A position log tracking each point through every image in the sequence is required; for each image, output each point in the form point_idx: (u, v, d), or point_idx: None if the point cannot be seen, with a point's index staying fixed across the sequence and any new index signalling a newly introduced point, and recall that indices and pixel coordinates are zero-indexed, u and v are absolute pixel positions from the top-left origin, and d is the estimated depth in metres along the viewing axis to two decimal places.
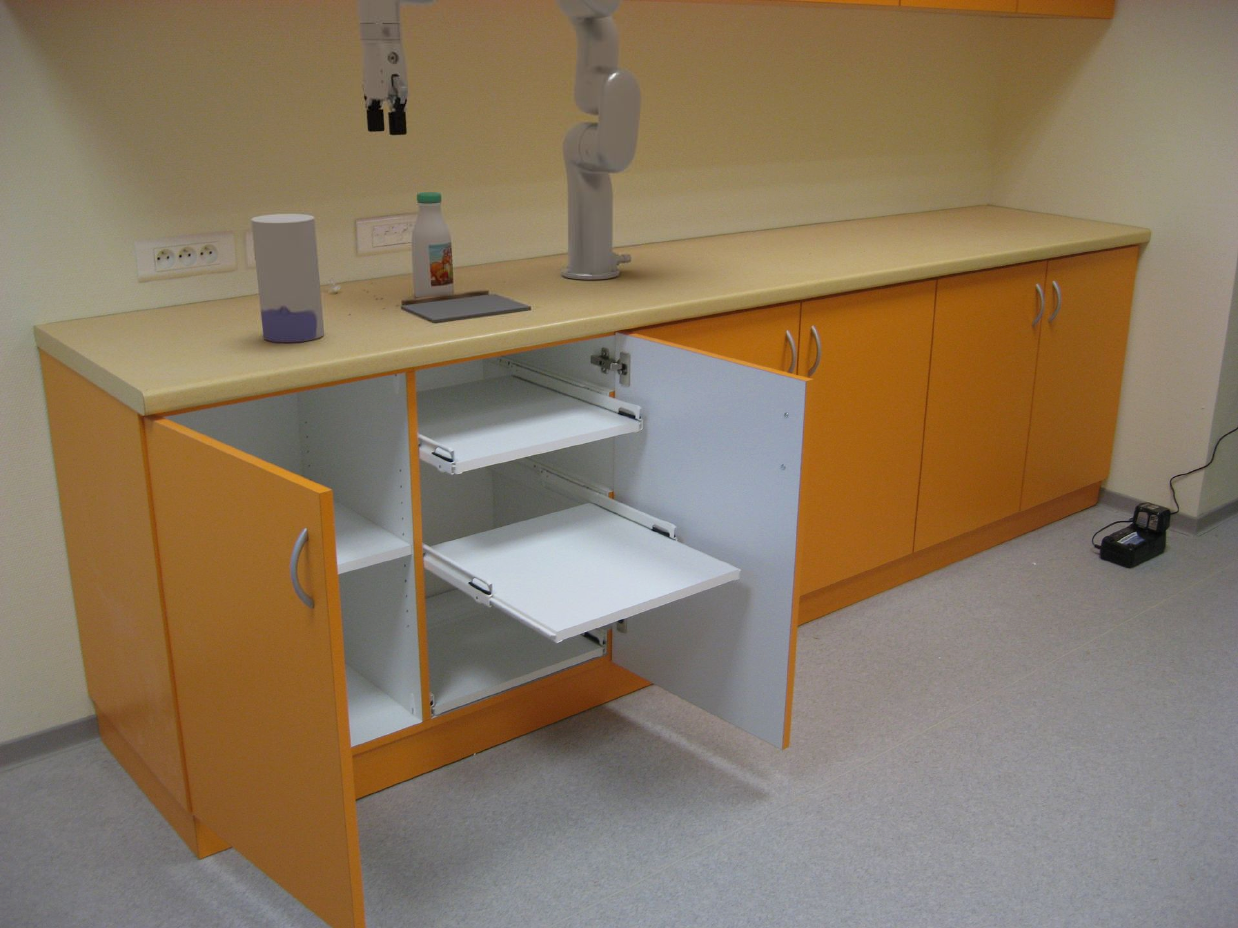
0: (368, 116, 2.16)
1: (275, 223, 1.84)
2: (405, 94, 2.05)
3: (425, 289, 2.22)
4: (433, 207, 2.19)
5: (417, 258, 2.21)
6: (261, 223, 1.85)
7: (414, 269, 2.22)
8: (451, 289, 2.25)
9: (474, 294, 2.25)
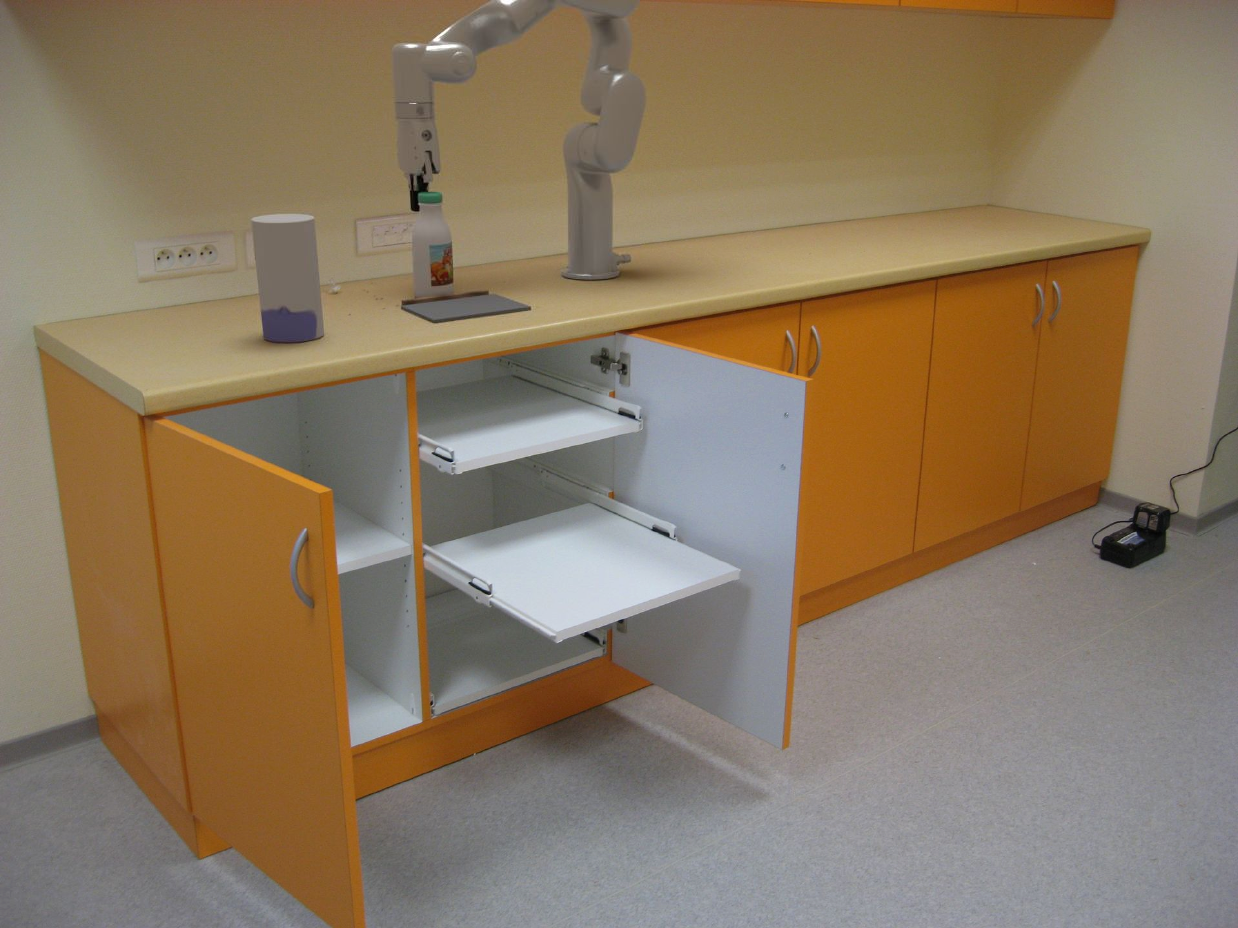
0: (411, 196, 2.22)
1: (275, 223, 1.84)
2: (429, 182, 2.19)
3: (425, 289, 2.22)
4: (434, 207, 2.18)
5: (417, 257, 2.20)
6: (261, 223, 1.85)
7: (414, 269, 2.22)
8: (451, 289, 2.25)
9: (474, 294, 2.25)
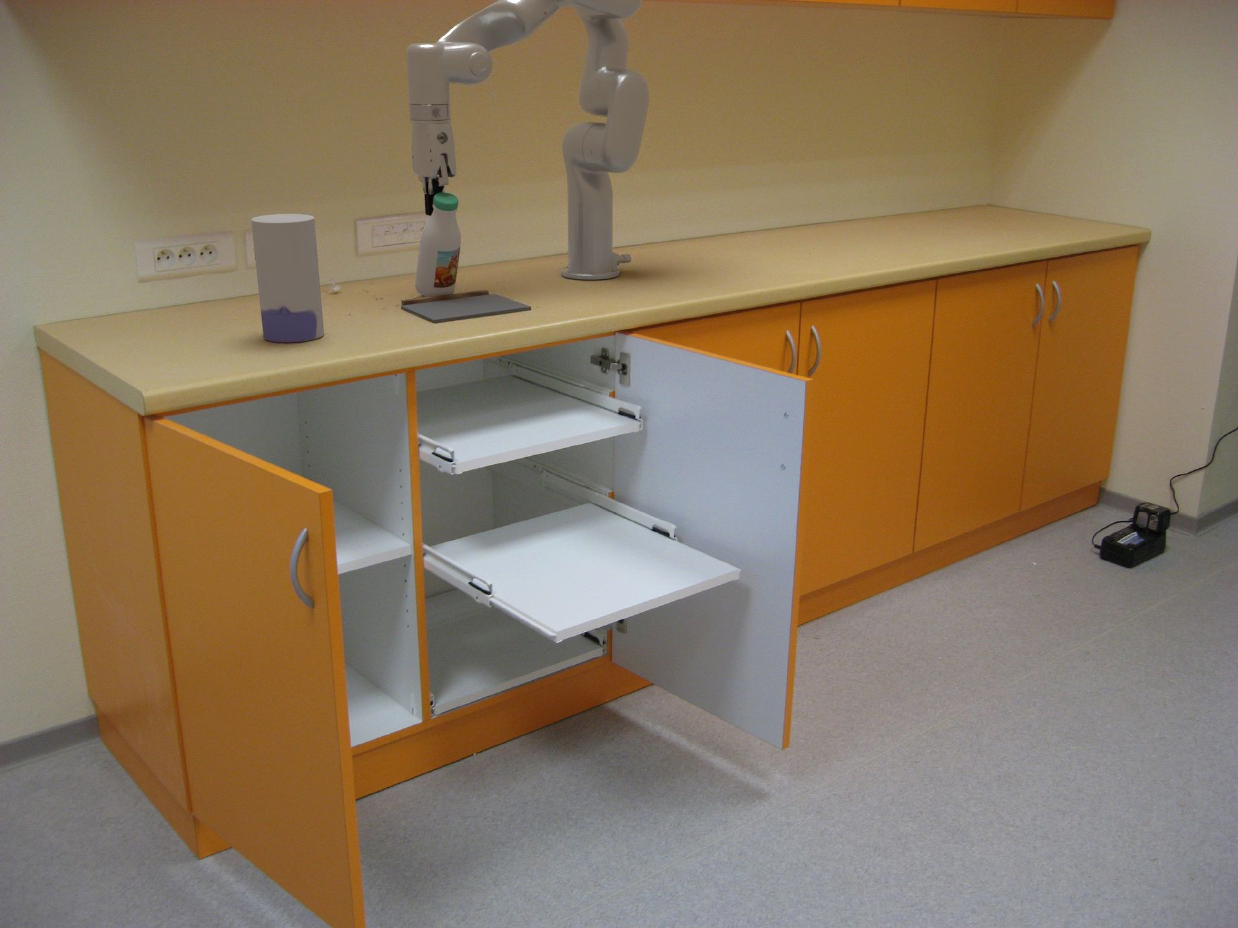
0: (426, 200, 2.17)
1: (275, 223, 1.84)
2: (445, 185, 2.14)
3: (427, 288, 2.21)
4: (449, 214, 2.14)
5: (423, 258, 2.18)
6: (261, 223, 1.85)
7: (419, 266, 2.20)
8: (453, 289, 2.24)
9: (474, 294, 2.25)
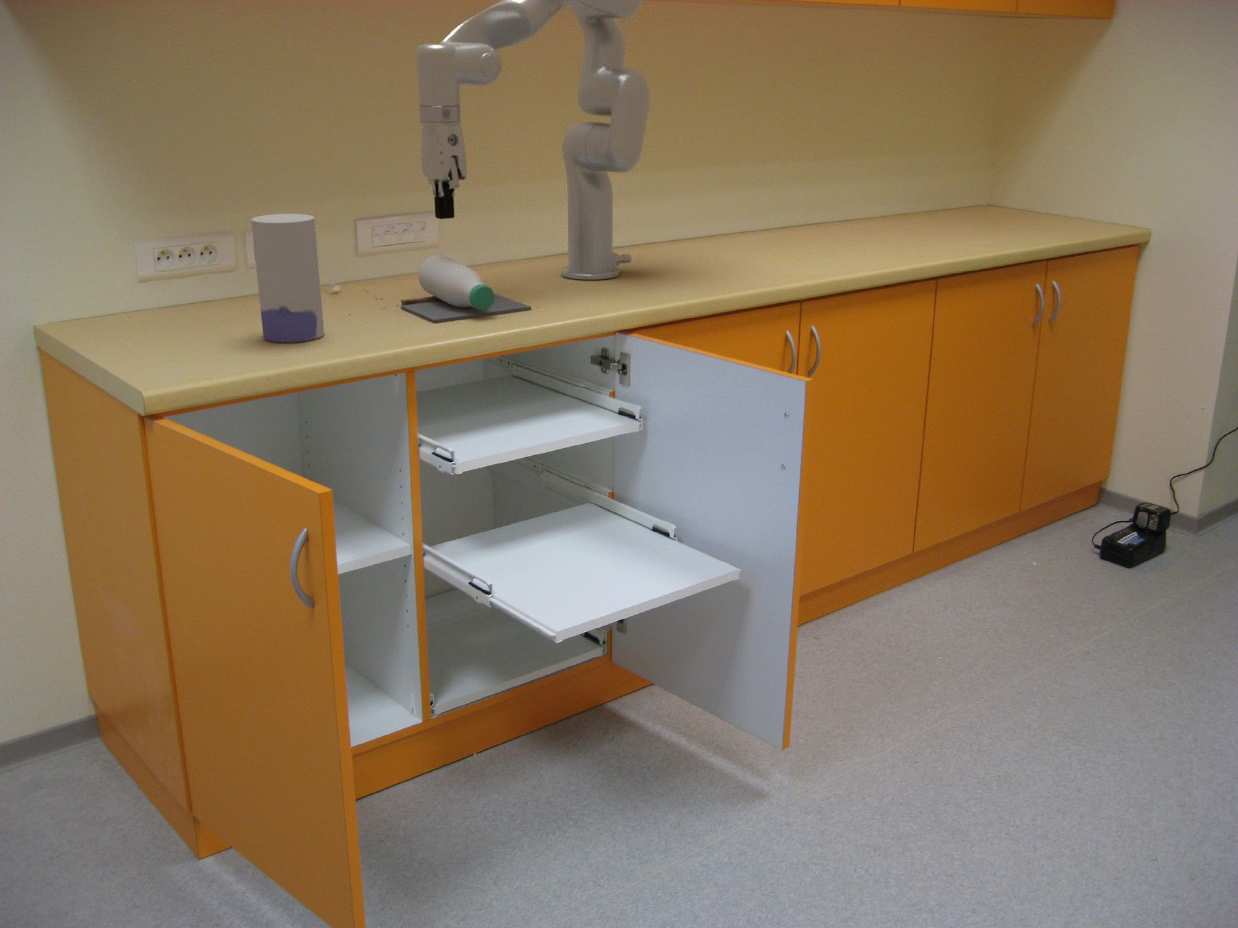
0: (436, 203, 2.14)
1: (275, 223, 1.84)
2: (455, 188, 2.11)
3: None
4: None
5: (438, 294, 2.15)
6: (261, 223, 1.85)
7: (430, 285, 2.16)
8: None
9: None
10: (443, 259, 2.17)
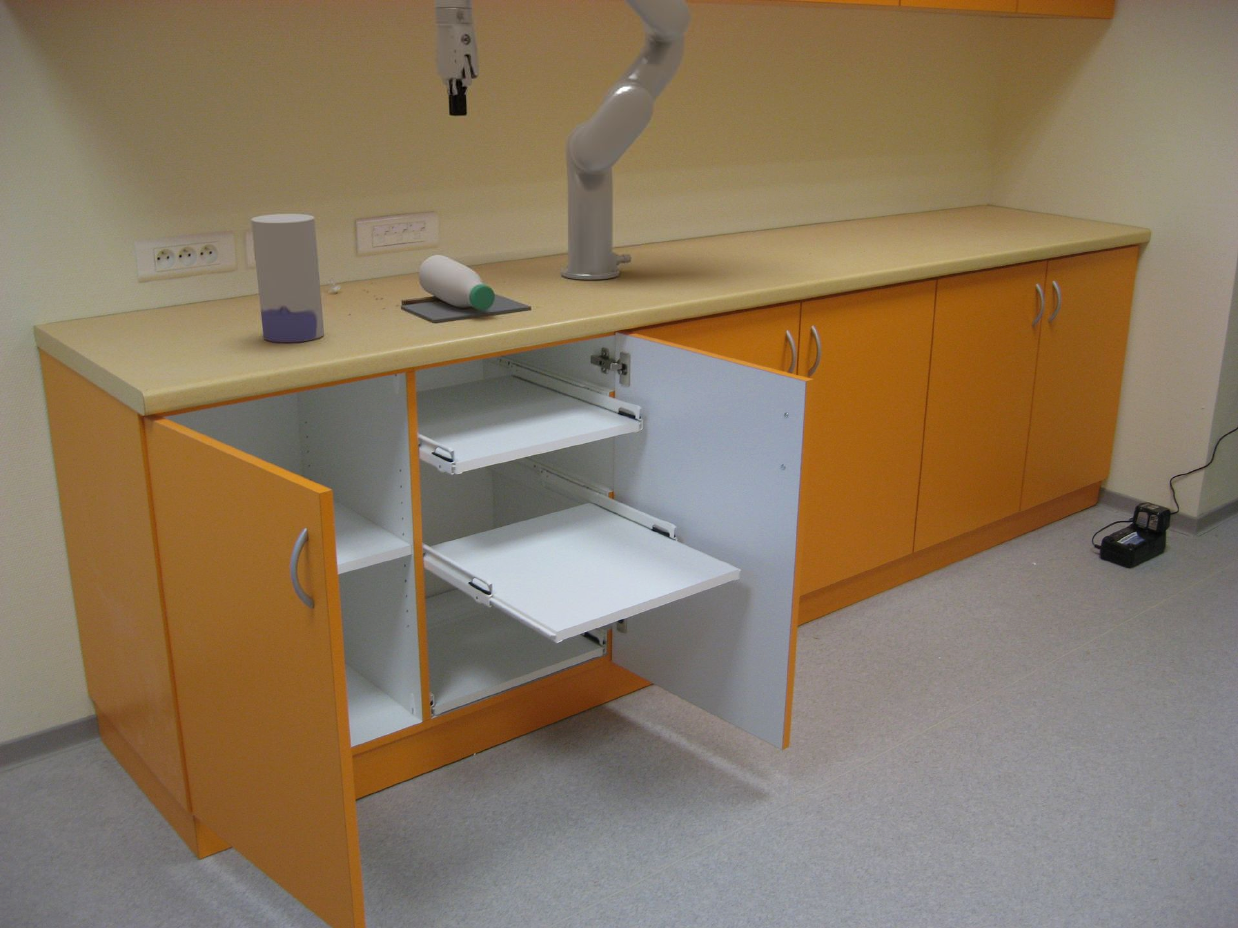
0: (450, 101, 2.32)
1: (275, 223, 1.84)
2: (468, 85, 2.28)
3: None
4: None
5: (438, 294, 2.15)
6: (261, 223, 1.85)
7: (430, 285, 2.16)
8: None
9: None
10: (443, 259, 2.17)
